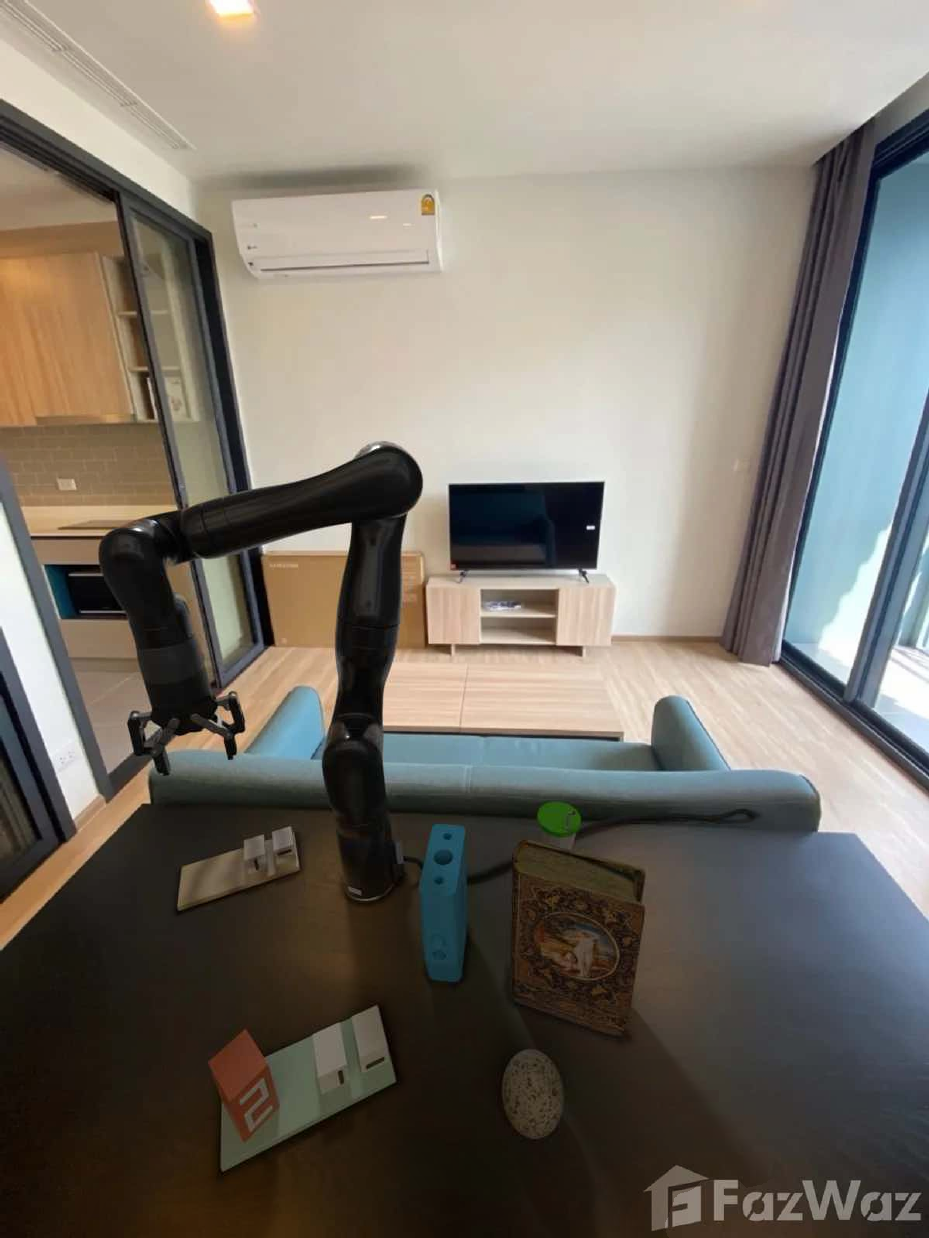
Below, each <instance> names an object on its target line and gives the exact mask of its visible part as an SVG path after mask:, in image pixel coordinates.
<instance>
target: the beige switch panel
mask: <svg viewBox="0 0 929 1238" xmlns="http://www.w3.org/2000/svg"><path fill="white" fill-rule="evenodd" d="M271 836H272V838H271V839H267V840H266V839H265V835H264V834H260V835H256V836H253V837H251V838H250V837H249V838H247V839H244V840H243V847H241V848H238V849H235V850H231V851H228V852H226V853H222V854H219V855H216V856H211V857H208V858H205V859H203V860H199V861H196V862H193V863H190V864H189V863H188V864H187V865H184V866H181V871H180V880H179V889H178V899H177V906H176V907H177V910H178V912H180V911H183V910H186V909H189V908H191V907H196V906H198V905H201V904H204V903H206V902H210V901H213V900H215V899H218V898H221V897H225V896H228V895H231V894H233V893H236V892H239V891H242V890H245V889H249V888H251V887H254V886H257V885H261V884H263V883H266V882H269V881H272V880H275V879H278V878H281V877H284V876H287V875H290V874H293V873H295V872H298V871H299V872H300V870H301V869H300V862H299V861H300V860H299V856H298V848H297V843H296V842H297V841H296V835H295V832H294V831H293V829H292V826H291V825H290V826H287V827H283V828H280V829H277V830H273V831H271Z"/></svg>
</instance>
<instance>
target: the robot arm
mask: <svg viewBox="0 0 929 1238" xmlns="http://www.w3.org/2000/svg"><path fill="white" fill-rule="evenodd" d="M423 489H424V476H423V472H422V469H421V466H420V465H419V463H418V461H417V460H416V459H415V457H414V456H413V455H412V454H411V453H410V452H409V451H408V450H407V449H405V448H403V446H400V445H399V444H396V443H395V442H392V441H389V440H388V441H387V440H377V441H373V442H371V443H368V444H366V445H365V446H363V447H362V448H361V449H360V450H359V451H357V453H356V454H355V456H354V457H353V458H352V459H350V460H348V461H347V462H345V463H342V464H340V465H338V466H336V467H334V468H332V469H330V470H327V471H324V472H321V473H320V474H319V473H318V474H316V475H313V476H310V477H307V478H303V479H300V480H295V481H290V482H285V483H280V484H275V485H269V486H262V487H257V488H252V489H251V488H250V489H246V490H243V491H238V492H234V493H230V494H226V495H223V496H219V497H216V498H211V499H209V500H206V501H202V502H199V503H196V504H194V505H191V506H189V507H186V508H183V509H175V510H171V511H170V510H169V511H165V512H161V513H156V514H152V515H148V516H147V515H146V516H143V517H140V518H137V519H134V520H132V521H129V522H127V523H125V524H122V525H120V526H118V527H115V528H114V529H112V530H110V531H108V532H107V533H106V534H105V535H103V537H102V538H101V540H100V543H99V545H98V550H97V551H98V553H97V557H98V564H99V565H98V566H99V569H100V571H101V574H102V576H103V578H104V581H105V582H106V584H107V586H108V588H109V589H110V591H111V593H112V594H113V596H114V598H115V599H116V602H117V603H118V605H119V607H121V609H122V610H123V611H124V613H125V615H126V617H127V621H128V625H129V629H130V633H131V636H132V639H133V642H134V645H135V649H136V650H135V651H136V659H137V664H138V667H139V670H140V674H141V677H142V680H143V683H144V687H145V690H146V695H147V697H148V700H149V703H150V707H151V711H145V712H140V711H139V710H136V709H135V710H132V711H131V712H130V713H129V715H128V719H127V722H126V725H127V729H128V734H129V738H130V742H131V747H132V750H133V754H134V756H136V757H142V756H143V755H145V756H146V755H147V756H150V757H151V758H152V760H153V764H154V766H155V770H156V772H157V773H158V774H162V776H163V777H168V776H170V775H171V769H172V767H171V763H170V758H169V756H168V753H167V750H166V747H165V746H166V745H167V744H168V743H169V741H170V739H171V738H172V737H173V736H177V737H183V736H186V735H188V734H191V733H193V734H194V733H195V734H196V733H201V732H203V730H204V729H206V730H207V731H209V732H210V733H212V734H213V735H215V734H216V735H218V736H220V737H222V738H223V745H224V749H225V754H226V757H227V761H232V760H234V756H237V753H238V745H237V741H236V737H235V736H237V735H238V734H243V733H245V732H246V719H245V715H244V712H243V709H242V706H241V702H240V698H239V696H238V693H237V691H235V690H231V691H229V692H228V693H227V695H223V696H219V697H216V696H215V695H214V694H213V692H212V688H211V683H210V680H209V675H208V671H207V667H206V663H205V655H204V652H203V651H202V647H201V644H200V642H199V639H198V636H197V634H196V632H195V627H194V623H193V619H192V616H191V615H192V614H191V611H190V608H189V605H188V602H187V600H186V598H185V597H184V596H183V595H182V594H181V593H180V592H179V593H178V592H176V591H175V590H174V589H173V585H172V583H171V581H170V578H169V574H168V570H169V569H171V568H175V567H177V566H179V565H182V564H185V563H189V562H192V561H196V560H199V559H202V560H216V559H220V558H225V557H227V556H231V555H234V554H238V553H240V552H245V551H248V550H252V549H254V548H255V549H256V548H258V547H261V546H264V545H268V544H272V543H274V542H277V541H281V540H283V539H287V538H290V537H293V536H298V535H301V534H305V533H308V532H312V531H316V530H322V529H325V528H330V527H335V526H341V525H346V524H351V527H350V539H349V547H348V553H347V555H346V561H345V565H344V569H343V573H342V578H341V584H340V588H339V595H338V600H337V608H336V616H335V617H336V618H335V629H334V656H335V657H334V658H335V665H336V672H337V691H336V697H335V698H336V699H335V702H334V707H333V712H332V715H331V720H330V723H329V726H328V729H327V733H326V737H325V742H324V746H323V749H322V754H321V773H322V777H323V783H324V788H325V792H326V797H327V802H328V805H329V807H330V808H331V809H332V816H333V823H334V828H335V836H336V842H337V848H338V855H339V862H340V867H341V873H342V881H343V882H342V883H343V889H344V891H345V894H346V895H347V897H349V898H350V899H351V900H353V901H355V902H358V903H364V904H365V903H372V902H376V901H378V900H381V899H382V898H384V897H386V896H387V895H388V894H389V893H390V892H392V890H393V888H394V887H395V886H397V885H399V884H400V878H401V877H405V876H406V871H405V869H406V867H405V863H413V864H416V865H417V866H418V868H419V869H420V870H421V871H423V866H424V862H423V860H421V859H420V858H418V857H415V856H411V855H410V856H409V855H404V848H403V840H402V841H401V840H400V841H395V838H394V835H393V831H392V823H391V814H390V803H389V790H388V787H387V785H386V780H385V779H386V778H385V769H384V755H383V754H384V739H385V737H384V693H385V686H386V682H387V679H388V677H389V674H390V672H391V669H392V666H393V662H394V659H395V655H396V651H397V647H398V641H399V635H400V629H401V621H402V611H403V572H402V571H403V568H402V567H403V566H402V565H403V564H402V549H403V539H404V533H405V529H406V523H407V518H408V513H409V512H411V510H413V509H414V508H415V507H416V505H417V504H418V502H419V501H420V499H421V497H422V494H423V491H424V490H423ZM219 707H221V708H223V709H224V710H225V711H227V712H230V714H231V717H232V721H233V722H232V723H230V722H228V721H226V720H225V719H224V718H223V717H222V715H220V714H218V713H217V710H218V708H219ZM149 722H151V723H153V724H154V725H156V726H158V727H160V729H159V731H158V733H157V735H156V737H155V738H154V740H153V741H147V736H146V732H145V729H146V728H147V727H148V723H149ZM740 814H745V815H746V814H747V815H748V816H750V817H754V816H755V813H754V812H753V811H752V810H750V809H747V808H737V809H733V810H731V811H727V812H723V813H719V814H693V813H682V812H681V813H680V812H653V813H652V812H650V813H640V814H639V813H638V814H630V815H622V816H618V817H612V818H609V819H605V820H600V821H597V822H594V823H591V824H588V825H585V826H582V827H580V828H579V831H577V832H576V835H575V836H578V835H580V834H583V833H585V832H588V831H591V830H594V829H597V828H601V827H603V826H608V825H612V824H616V823H617V824H618V823H622V822H627V821H637V820H646V819H647V820H648V819H688V820H699V821H700V820H701V821H718V820H720V821H721V820H725V819H727V818H731V817H735V816H737V815H740ZM509 866H512V858H510V859H507V860H505V861H503V862H499V863H498V864H496V865H493V866H492V867H490V868H487V869H484V870H482V871H478V872H473V873H466V879H467V881H468V880H476V879H480V878H483V877H487V876H489V875H491V874H494V873H496V872H498V871H500V870H503V869H504V868H507V867H509Z"/></svg>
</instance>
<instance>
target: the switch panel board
mask: <svg viewBox="0 0 929 1238" xmlns="http://www.w3.org/2000/svg"><path fill="white" fill-rule="evenodd" d="M389 1050H390V1049H389V1045H388V1042H387V1038H386V1034H385V1028H384V1024H383V1021H382V1018H381V1013H380V1009H379V1006H378V1004H375V1005H374V1006H372V1007H370V1008H367V1009H365V1010H363V1011H361V1012H358V1013H356V1014H354V1015H352V1016H351V1017H349V1018H348V1019H346V1020H343V1021H341V1022H340V1021H339V1022H337V1023H334V1024H332V1025H330V1026H328V1027H325V1028H324V1029H321V1030H319V1031H316V1032H315V1033H313V1034H312V1035H310V1036H308V1037H306V1038H303V1039H302V1040H299V1041H297V1042H295V1043H293V1044H291V1045H289V1046H287V1047H284V1048H282V1049H279V1050H277V1051H276V1052H273V1053H271V1054H269V1055H267V1056H263V1057H264V1058H265V1060H266V1062H267V1063H268V1065H269V1069H270V1072H271V1076H272V1079H273V1083H274V1086H275V1090H276V1093H277V1097H278V1100H279V1104H280V1106H279V1107H278V1108H277V1110H276V1111H275V1112H274V1113H273V1114H272V1115H271V1116H270V1117H269V1118H268V1119H267V1120H266V1121H265V1122H264V1123H263V1124H262V1125H261V1126H260V1127H259V1128H258V1130H257V1131H256V1132H255V1133H254V1134H253V1135H252V1136H251V1137H250V1138H249V1139H248V1140H247V1141H246V1142H245V1143H243V1141H242V1139H241V1137H240V1135H239V1133H238V1131H237V1129H236V1128H235V1126H234V1124H233V1122H232V1120H231V1118H230V1116H229V1114H228V1113H227V1111H226V1109H225V1107H224V1105H223V1103H222V1102H221V1118H220V1119H221V1122H220V1123H221V1124H220V1125H221V1126H220V1169H221V1171H222V1172H225V1171H227V1170H229V1169H231V1168H233V1167H235V1166H237V1165H239V1164H241V1163H242V1162H245V1161H246V1160H249V1159H250V1158H252V1157H254V1156H256V1155H258V1154H260V1153H262V1152H264V1151H266V1150H268V1149H269V1148H272V1147H273V1146H275V1145H277V1144H280V1143H281V1142H283V1141H285V1140H287V1139H289V1138H291V1137H293V1136H294V1135H296V1134H298V1133H301V1132H302V1131H304V1130H307V1129H308V1128H310V1127H312V1126H314V1125H315V1124H317V1123H320V1122H321V1121H323V1120H325V1119H327V1118H329V1117H331V1116H333V1115H334V1114H337V1113H338V1112H341V1111H342V1110H344V1109H346V1108H349V1107H350V1106H353V1105H354V1104H356V1103H358V1102H360V1101H362V1100H364V1099H366V1098H368V1097H370V1096H372V1095H373V1094H375V1093H378V1092H379V1091H381V1090H383V1089H385V1088H387V1087H389V1086H391V1085H392V1084H395V1083H396V1082H397V1079H396V1075H395V1069H394V1065H393V1062H392V1057H391V1053H390V1051H389Z"/></svg>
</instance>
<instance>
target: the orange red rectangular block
mask: <svg viewBox="0 0 929 1238" xmlns="http://www.w3.org/2000/svg"><path fill="white" fill-rule="evenodd" d="M264 1057H265V1056H263V1054H262V1051H260V1049H259V1047H258V1046H257V1044H256V1043H255V1041H254V1040H253V1038H252V1036H251V1035H250V1033H249V1031H248V1030H247V1029H246V1028H245V1029H244V1030H242V1031H241V1032H240V1033H239V1034H237V1036H235V1038H233V1039H232V1040H231V1041H230V1042H228V1044H226V1046H225V1047H223V1048H222V1049H220V1051H218V1053H216V1054H215V1055H214V1056H213V1057H212V1058H211V1059H209V1061H208V1062H207V1065H208V1067H209V1070H210V1073H211V1075H212V1078H213V1080H214V1084H215V1086H216V1089H217V1092H218V1095H219V1097H220V1100H221V1104H222V1103H223V1105H224V1107H225V1109H226V1111H227V1113H228V1114H229V1116H230V1118H231V1120H232V1122H233V1124H234V1126H235V1128H236V1129H237V1131H238V1133H239V1135H240V1137H241V1139H242V1141H243V1143H245V1142H246V1141H247V1140H248V1139H249V1138H250V1137H251V1136H252V1135H253V1134H254V1133H255V1132H256V1131H257V1130H258V1128H259V1127H260V1126H261V1125H262V1124H263V1123H264V1122H265V1121H266V1120H267V1119H268V1118H269V1117H270V1116H271V1115H272V1114H273V1113H274V1112H275V1111H276V1110H277V1108H278V1107H279V1106H280V1104H279V1100H278V1097H277V1093H276V1090H275V1086H274V1083H273V1079H272V1076H271V1072H270V1069H269V1065H268V1063H267V1062H266V1060H265V1058H264Z"/></svg>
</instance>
